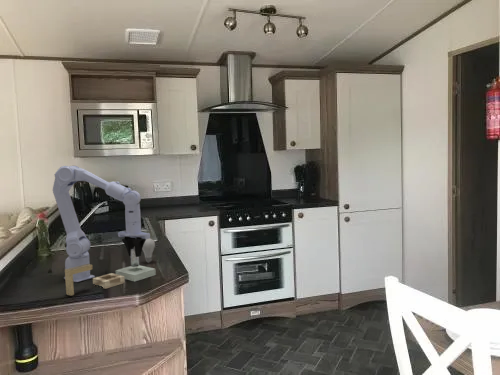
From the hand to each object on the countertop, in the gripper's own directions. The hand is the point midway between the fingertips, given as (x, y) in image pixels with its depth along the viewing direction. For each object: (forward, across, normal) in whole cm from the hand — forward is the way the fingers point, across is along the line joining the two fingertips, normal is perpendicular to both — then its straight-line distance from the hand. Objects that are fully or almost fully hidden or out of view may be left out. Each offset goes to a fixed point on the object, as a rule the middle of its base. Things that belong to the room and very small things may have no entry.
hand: (134, 255), depth 155 cm
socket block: (+8, -2, -12) cm, 14 cm away
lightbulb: (+8, -9, +18) cm, 22 cm away
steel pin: (+4, 0, 0) cm, 4 cm away
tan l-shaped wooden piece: (+8, -5, -23) cm, 24 cm away
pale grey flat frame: (+8, 0, 0) cm, 8 cm away
